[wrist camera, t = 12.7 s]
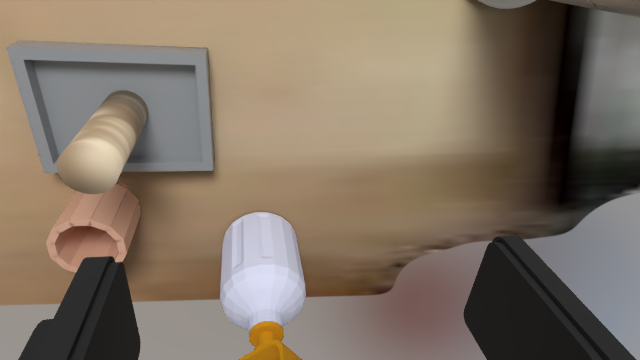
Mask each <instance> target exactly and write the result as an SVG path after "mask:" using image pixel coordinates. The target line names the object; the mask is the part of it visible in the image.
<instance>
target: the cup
mask: <svg viewBox="0 0 640 360" xmlns="http://www.w3.org/2000/svg"><path fill="white" fill-rule="evenodd" d="M140 216H141V210H140V204H139V200H138V199H137V198H136V197H135V196H134V195H133V194H132V192H131V191H130V190H129V189H128V188H125V187H123V186H120V185H118V184H115V185H114V186H113V187H112V188H111V189H110V190H108V191H106V192H104V193H100V194H85V193H81V192H78V191H77V192H76V193H75V195H74V196H73V198H72V199H71V201H70V202H69V204H68V205H67V207H66V208H65V210H64V212H63V213H62V215H61V216H60V218H59V219H58V221H57V222H56V224H55V225H54V227H53V228H52V230H51V233H50V235H49V237H48V239H47V241H46V245H47V248H48V251H49V254H50V257H51V258H52V259H53V260H54V261H55V262H57V263H58V264H59V265H60V266H61V267H63V268H64V269H65V270H68V271H72V272H75V273H76V272H77V270H78V268H79V266H80V264H81V262H82V260H83V259H84V258H86V257H104V256H113V257H114V259H115V262H123V260H124V258H125V256H126V254H127V252H128V249H129V246H130V244H131V241H132V238H133V235H134V232H135V230H136V227H137V224H138V221H139V219H140Z"/></svg>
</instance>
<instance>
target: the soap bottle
mask: <svg viewBox="0 0 640 360" xmlns="http://www.w3.org/2000/svg"><path fill="white" fill-rule="evenodd" d="M305 297H306V291H305V282H304V277H303V271H302V266H301V261H300V256H299V250H298V245H297V240H296V234H295V231H294V230H293V228H292V226H291V224H290V223H289V222H287V221H286V220H285V219H283V218H282V217H281V216H278V215H275V214H272V213H269V212H255V213H251V214H248V215H244V216H242V217H241V218H239V219H237V220H236V221H234V222H233V223H232V224H231V226H230V227H229V228H228V230H227V231H226V233H225V236H224V240H223V252H222V270H221V288H220V300H221V304H222V309H223V310H224V312H225V315H226V316H227V317H228V318H229V320H230V321H231V322H232V323H234V324H236V325H237V326H239V327H241V328H243V329H248V330H249V338H250V342H251V344H252V345H253V346H255V347H256V348H255V349H254V351H253V352H251V353H249V354H247V355H245V356H244V357H242V358H240V359H239V360H302V359H301V358H299V357H298V356H297V355H296V354H295V353H294V352H292V351H291V350H290V349H289V348H288V347H286V346H285V345H284V344H283V343H282V342H281V341H282V339H283V325H285V324H286V323H288V322H290V321H292V320H293V318H295V316H297V314H298V313H299V312H300V310H301V308H302V306H303V303H304V300H305Z"/></svg>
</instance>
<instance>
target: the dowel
mask: <svg viewBox="0 0 640 360" xmlns="http://www.w3.org/2000/svg"><path fill="white" fill-rule="evenodd" d="M147 118H148V107H147V105H146V103H145V102H144V100H143V99H142V98H141V97H140V96H138V95H137V94H135V93H133V92H130V91H126V90H119V91H115V92H113V93H111V94H110V95H108V97H107V98H106V99H105V100H104V101H103V103H102V104H101V105H100V106H99V108H98V109H97V110H96V111H95V113H94V114H93V115H92V116H91V118H90V119H89V120H88V121H87V123H86V124H85V125H84V126H83V128H82V129H81V130H80V131H79V133H78V134H77V135H76V136H75V138H74V139H73V140H72V141H71V143H70V144H69V145H68V146H67V147H66V149H65V150H64V151H63V152H62V154H61V155H60V156H59V158H58V161H57V172H58V174H59V176H60V178H61V179H62V181H63V182H64V183H65V184H66V185H67V186H69V187H70V188H72V189H74V190H76V191H78V192H81V193H85V194H100V193H104V192H106V191H108V190H110V189H111V188H112V187H113V186H114V185H115V184H116V182H117V180H118V178H119V176H120V174H121V172H122V170H123V168H124V166H125V164H126V162H127V160H128V157H129V155H130V153H131V151H132V149H133V147H134V145H135V143H136V141H137V139H138V137H139V135H140V133H141V131H142V129H143V127H144V125H145V123H146V121H147Z"/></svg>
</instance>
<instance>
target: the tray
mask: <svg viewBox="0 0 640 360" xmlns="http://www.w3.org/2000/svg"><path fill="white" fill-rule="evenodd" d="M6 48H7V51H8V54H9V57H10V61H11V64H12V67H13V71H14V74H15V77H16V80H17V84H18V87H19V90H20V94H21V97H22V100H23V104H24V107H25V110H26V113H27V117H28V120H29V123H30V127H31V130H32V133H33V136H34V140H35V143H36V146H37V150H38V153H39V156H40V159H41V163H42V166H43V169H44V173H58V172H57V161H58V158H59V156H60V155H61V154H62V152H63V151H64V150H65V149H66V147H67V146H68V145H69V144H70V143H71V141H72V140H73V139H74V138H75V136H76V135H77V134H78V133H79V131H80V130H81V129H82V128H83V126H84V125H85V124H86V123H87V121H88V120H89V119H90V118H91V116H92V115H93V114H94V113H95V111H96V110H97V109H98V108H99V106H100V105H101V104H102V103H103V101H104V100H105V99H106V98H107V97H108V95H110V94H111V93H113V92H115V91H119V90H126V91H130V92H133V93H135V94H137V95H138V96H140V97H141V98H142V99H143V100H144V102H145V103H146V105H147V107H148V118H147V121H146V123H145V125H144V127H143V129H142V131H141V133H140V135H139V137H138V139H137V141H136V143H135V145H134V147H133V149H132V151H131V153H130V155H129V157H128V160H127V162H126V164H125V166H124V168H123V170H122V172H154V171H213V169H214V160H215V159H214V143H213V126H212V110H211V93H210V77H209V60H208V48H191V47H166V46H141V45H116V44H91V43H66V42H41V41H18V42H16V43H14V44H12V45H10V46H7V47H6Z"/></svg>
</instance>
